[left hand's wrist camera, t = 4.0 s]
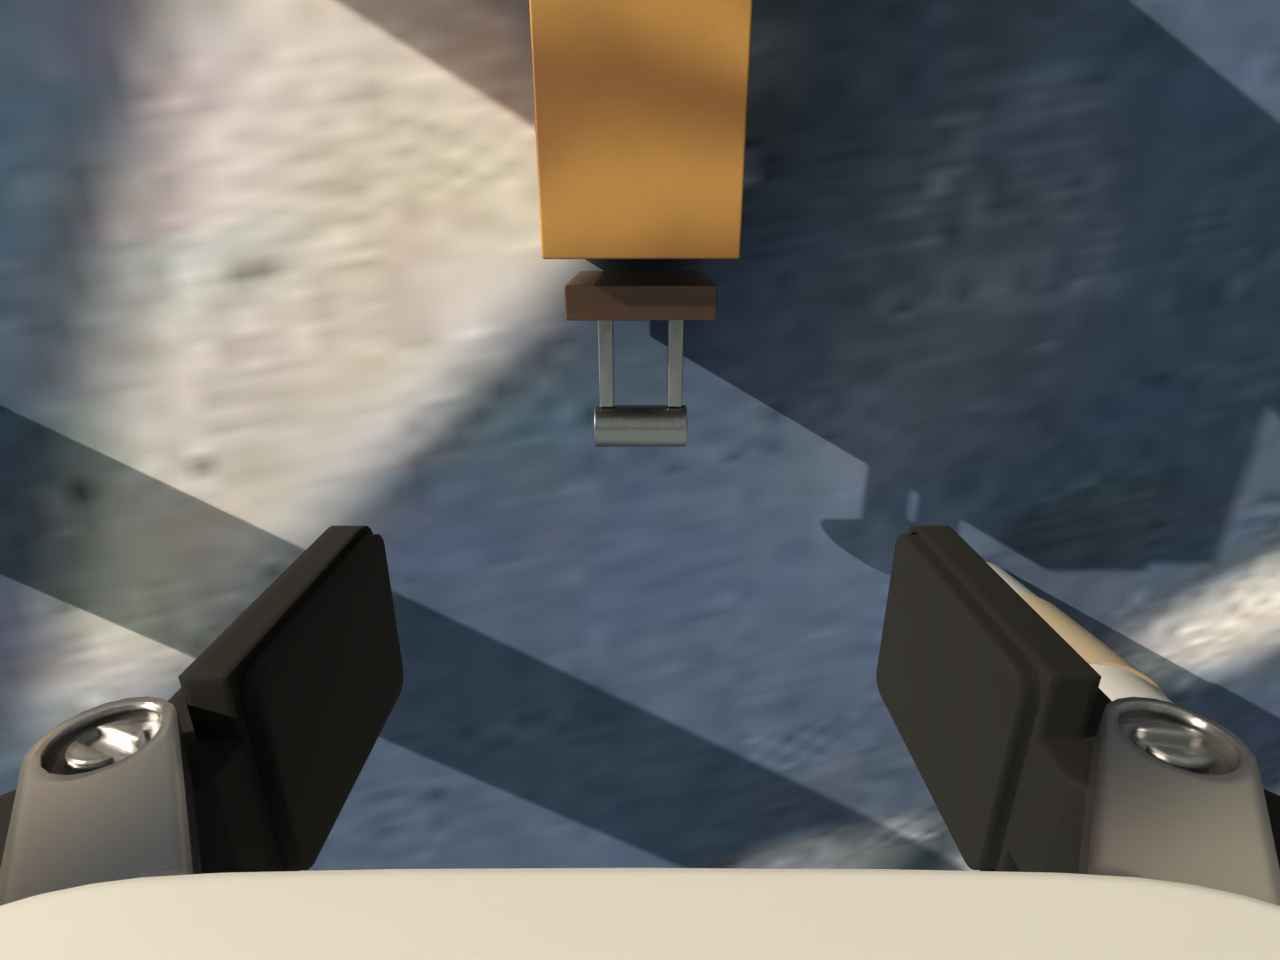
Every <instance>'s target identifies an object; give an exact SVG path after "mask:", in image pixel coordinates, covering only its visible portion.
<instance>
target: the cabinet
mask: <svg viewBox="0 0 1280 960" xmlns="http://www.w3.org/2000/svg"><path fill="white" fill-rule="evenodd" d="M752 3H753V0H529V7H530V27H531V47H532V67H533V87H534V107H535V127H536V147H537V167H538V187H539V207H540V228H541V248H542V258H543V259H738V258H739V257H740V245H741V225H742V205H743V185H744V164H745V144H746V124H747V104H748V83H749V63H750V43H751V23H752Z"/></svg>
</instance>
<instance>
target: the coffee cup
mask: <svg viewBox="0 0 1280 960" xmlns="http://www.w3.org/2000/svg"><path fill="white" fill-rule="evenodd" d="M986 563H987V564H988V565H989V566H990V567H991V568H992V569H993V570H994V571H995V572H996V573H997V574H998V575H999V576H1000V577H1002V578H1003V579H1004V580H1005V581H1006V582H1007V583H1008V584H1009V585H1010V586H1011V587H1012V588H1013V589H1014V590H1015V591H1016V592H1017V593H1018V594H1019V595H1020V596H1021V597H1022V598H1023V599H1024V600H1025V601H1026V602H1027V603H1028V604H1029V605H1030V606H1031V607H1032V608H1033V609H1034V610H1035V611H1036V612H1037V613H1038V614H1039V615H1040V616H1041V617H1042V618H1043V619H1044V620H1045V621H1046V622H1047V623H1048V624H1049V625H1050V626H1051V627H1052V628H1053V629H1054V630H1055V631H1056V632H1057V633H1058V634H1059V635H1060V636H1061V637H1062V638H1063V639H1064V640H1065V641H1066V642H1067V643H1068V644H1069V645H1070V646H1071V647H1072V648H1073V649H1074V650H1075V651H1076V652H1077V653H1078V654H1079V655H1080V656H1081V657H1082V658H1083V659H1084V660H1085V661H1086V662H1087V663H1088V664H1089V665H1090V666H1091V667H1092V668H1093V669H1094V670H1095V671H1096V672H1097V673H1098V674H1099V675H1100V676H1101V680H1100V684H1099V688H1100V689H1101V690H1102V691H1103V692H1104V693H1105V695H1106V696H1107V697H1108V698H1109V699H1110V700H1111V701H1114V700H1116V699H1119V698H1127V697H1144V698H1154V699H1158V700H1162V701H1166V702H1171V703H1173V702H1172V701H1171V700H1169V699H1168V698H1167V697H1166V696H1165V694H1164V693H1163V691H1162V690H1161V689H1160V688H1159V687H1158V686H1157V684H1155V683H1154V682H1153V681H1152V680H1151V679H1150V678H1148V677H1147V676H1146V675H1144V674H1143V673H1142V672H1140V671H1139V670H1138V669H1137V668H1135V667H1134V666H1133V665H1131V664H1130V663H1129V662H1127V661H1126V660H1125V659H1124V658H1122V657H1121V656H1120V655H1118V654H1117V653H1116V652H1114V651H1113V650H1112V649H1111V648H1109V647H1108V646H1107V645H1105V644H1104V643H1103V642H1101V641H1100V640H1099V639H1098V638H1096V637H1095V636H1094V635H1092V634H1091V633H1090V632H1088V631H1087V630H1086V629H1085V628H1083V627H1082V626H1081V625H1079V624H1078V623H1077V622H1075V621H1074V620H1073V619H1072V618H1070V617H1069V616H1068V615H1066V614H1065V613H1064V612H1063V611H1061V610H1060V609H1059V608H1057V607H1056V606H1055V605H1053V604H1051V603H1050V602H1048V601H1046V600H1043V599H1041V598H1039V597H1038V596H1036V595H1035V594H1034V593H1032V592H1031V591H1030V590H1029V589H1027V588H1026V587H1025V586H1023V585H1022V584H1021V583H1020V582H1018V581H1017V580H1016V579H1014V578H1013V577H1012V576H1011V575H1009V574H1008V573H1007V572H1006V571H1004V570H1003V569H1001V568H1000V567H998V566H996V565H994V564H991V563H989V562H986Z"/></svg>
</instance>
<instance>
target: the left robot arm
mask: <svg viewBox="0 0 1280 960" xmlns="http://www.w3.org/2000/svg"><path fill="white" fill-rule="evenodd" d="M179 680H180V684H181V688H180V689H179V690H178V691H177V692H176V693H175V694H174V696H173V697H172V698H171V699H170V700H169V701H166V700H164V699H161V698H153V697H136V698H126V699H122V700H118V701H114V702H109V703H105V704H103V705H100V706H97V707H95V708H92V709H89V710H87V711H84V712H82V713H80V714H78V715H76V716H74V717H72V718H70V719H68V720H66V721H64V722H62V723H60V724H59V725H58V726H56V727H55V728H53V729H52V730H51V731H49V732H48V733H46V734H45V735H44V736H42V737H41V738H40V739H39V740H38V741H37V742H36V743H35V744H34V745H33V746H32V747H31V748H30V750H29V751H28V752H27V754H26V756H25V758H24V760H23V763H22V765H21V770H20V775H19V780H18V784H17V789H16V790H13V791H11V792H8V793H6V794H4V795H1V796H0V960H1280V796H1279V795H1276V794H1274V793H1272V792H1269V791H1267V790H1264V789H1263V784H1262V780H1261V775H1260V770H1259V765H1258V763H1257V760H1256V758H1255V756H1254V754H1253V752H1252V751H1251V750H1250V748H1249V747H1248V746H1247V745H1246V744H1245V743H1244V742H1243V741H1242V740H1241V739H1240V738H1239V737H1238V736H1236V735H1235V734H1234V733H1232V732H1231V731H1229V730H1228V729H1227V728H1225V727H1224V726H1222V725H1221V724H1220V723H1218V722H1216V721H1214V720H1212V719H1210V718H1208V717H1206V716H1204V715H1202V714H1200V713H1198V712H1196V711H1193V710H1191V709H1188V708H1185V707H1183V706H1180V705H1177V704H1175V703H1171V702H1166V701H1162V700H1158V699H1154V698H1144V697H1127V698H1119V699H1116V700H1114V701H1111V700H1110V699H1109V698H1108V697H1107V696H1106V695H1105V693H1104V692H1103V691H1102V690H1101V689H1100V688H1099V684H1100V680H1101V676H1100V675H1099V674H1098V673H1097V672H1096V671H1095V670H1094V669H1093V668H1092V667H1091V666H1090V665H1089V664H1088V663H1087V662H1086V661H1085V660H1084V659H1083V658H1082V657H1081V656H1080V655H1079V654H1078V653H1077V652H1076V651H1075V650H1074V649H1073V648H1072V647H1071V646H1070V645H1069V644H1068V643H1067V642H1066V641H1065V640H1064V639H1063V638H1062V637H1061V636H1060V635H1059V634H1058V633H1057V632H1056V631H1055V630H1054V629H1053V628H1052V627H1051V626H1050V625H1049V624H1048V623H1047V622H1046V621H1045V620H1044V619H1043V618H1042V617H1041V616H1040V615H1039V614H1038V613H1037V612H1036V611H1035V610H1034V609H1033V608H1032V607H1031V606H1030V605H1029V604H1028V603H1027V602H1026V601H1025V600H1024V599H1023V598H1022V597H1021V596H1020V595H1019V594H1018V593H1017V592H1016V591H1015V590H1014V589H1013V588H1012V587H1011V586H1010V585H1009V584H1008V583H1007V582H1006V581H1005V580H1004V579H1003V578H1002V577H1000V576H999V575H998V574H997V573H996V572H995V571H994V570H993V569H992V568H991V567H990V566H989V565H988V564H987V563H986V562H985V561H984V560H983V559H982V558H981V557H980V556H979V555H978V554H977V553H976V552H975V551H974V550H973V549H972V548H971V547H970V546H969V545H968V544H967V543H966V542H965V541H964V540H963V539H962V538H961V537H960V536H959V535H958V534H957V533H956V532H955V531H954V530H953V529H952V528H951V527H949V526H912V527H911V528H910V529H909V531H908V533H907V534H903V535H900V536H899V537H898V539H897V541H896V546H895V552H894V559H893V566H892V572H891V579H890V586H889V592H888V599H887V606H886V613H885V619H884V626H883V633H882V639H881V646H880V653H879V659H878V666H877V684H878V689H879V692H880V695H881V697H882V699H883V701H884V703H885V705H886V707H887V709H888V711H889V712H890V714H891V716H892V718H893V720H894V722H895V724H896V726H897V728H898V730H899V732H900V734H901V736H902V738H903V740H904V742H905V744H906V746H907V748H908V750H909V752H910V754H911V756H912V758H913V760H914V762H915V764H916V766H917V768H918V770H919V772H920V774H921V776H922V778H923V780H924V782H925V784H926V786H927V788H928V790H929V792H930V794H931V796H932V798H933V799H934V801H935V803H936V805H937V807H938V809H939V811H940V813H941V815H942V817H943V819H944V821H945V823H946V825H947V827H948V829H949V831H950V833H951V835H952V837H953V839H954V841H955V843H956V845H957V847H958V849H959V851H960V853H961V855H962V857H963V859H964V861H965V862H966V864H967V865H968V866H969V867H970V868H971V869H973V870H980V871H950V870H899V869H757V868H523V869H381V870H330V871H300V870H307V869H309V868H310V867H311V866H312V865H313V864H314V862H315V861H316V859H317V857H318V855H319V853H320V851H321V849H322V847H323V845H324V843H325V841H326V839H327V837H328V835H329V833H330V831H331V829H332V827H333V825H334V823H335V821H336V819H337V817H338V815H339V813H340V811H341V809H342V807H343V805H344V803H345V801H346V799H347V797H348V796H349V794H350V792H351V790H352V788H353V786H354V784H355V782H356V780H357V778H358V776H359V774H360V772H361V770H362V768H363V766H364V764H365V762H366V760H367V758H368V756H369V754H370V752H371V750H372V748H373V746H374V744H375V742H376V740H377V738H378V736H379V734H380V732H381V730H382V728H383V726H384V724H385V722H386V720H387V718H388V716H389V714H390V712H391V710H392V709H393V707H394V705H395V703H396V701H397V699H398V697H399V695H400V692H401V689H402V684H403V666H402V659H401V653H400V646H399V639H398V633H397V626H396V619H395V613H394V606H393V599H392V593H391V586H390V579H389V573H388V566H387V559H386V552H385V546H384V541H383V539H382V537H381V536H380V535H377V534H373V533H372V531H371V529H370V528H369V527H368V526H331V527H329V528H328V529H327V530H326V531H325V532H324V533H323V534H322V535H321V536H320V537H319V538H318V539H317V540H316V541H315V542H314V543H313V544H312V545H311V546H310V547H309V548H308V549H307V550H306V551H305V552H304V553H303V554H302V555H301V556H300V557H299V558H298V559H297V560H296V561H295V562H294V563H293V564H292V565H291V566H290V567H289V568H288V569H287V570H286V571H285V572H284V573H283V574H282V575H280V576H279V577H278V578H277V579H276V580H275V581H274V582H273V583H272V584H271V585H270V586H269V587H268V588H267V589H266V590H265V591H264V592H263V593H262V594H261V595H260V596H259V597H258V598H257V599H256V600H255V601H254V602H253V603H252V604H251V605H250V606H249V607H248V608H247V609H246V610H245V611H244V612H243V613H242V614H241V615H240V616H239V617H238V618H237V619H236V620H235V621H234V622H233V623H232V624H231V625H230V626H229V627H228V628H227V629H226V630H225V631H224V632H223V633H222V634H221V635H220V636H219V637H218V638H217V639H216V640H215V641H214V642H213V643H212V644H211V645H210V646H209V647H208V648H207V649H206V650H205V651H204V652H203V653H202V654H201V655H200V656H199V657H198V658H197V659H196V660H195V661H194V662H193V663H192V664H191V665H190V666H189V667H188V668H187V669H186V670H185V671H184V672H183V673H182V674H181V675H180V676H179Z"/></svg>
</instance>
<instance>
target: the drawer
mask: <svg viewBox="0 0 1280 960" xmlns="http://www.w3.org/2000/svg"><path fill="white" fill-rule="evenodd" d="M564 291H565V316H566V320H597V323H598V367H599V405H596V406H595V411H594V439H595V446H596V447H685V446H686V443H687V408H686V405H682V378H683V333H684V320H716V310H717V285H716V284H715V283H713V282H712V281H711V280H710V279H709V278H707V277H706V276H705V275H704V274H703V273H702V272H700V271H581V272H579V273H578V274H577V275H576V276H575V277H574V278H573V279H572V280H570V281H569V282H568V283H567V284H566V285H565V287H564ZM613 320H668V360H667V405H614V348H613Z"/></svg>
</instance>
